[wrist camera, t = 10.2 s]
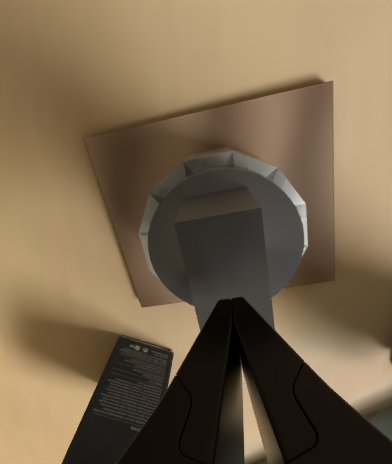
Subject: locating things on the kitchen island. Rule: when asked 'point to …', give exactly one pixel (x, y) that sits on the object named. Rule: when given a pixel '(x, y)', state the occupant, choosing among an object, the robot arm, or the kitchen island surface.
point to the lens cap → (226, 240)
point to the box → (121, 402)
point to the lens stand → (238, 138)
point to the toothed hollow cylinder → (209, 160)
